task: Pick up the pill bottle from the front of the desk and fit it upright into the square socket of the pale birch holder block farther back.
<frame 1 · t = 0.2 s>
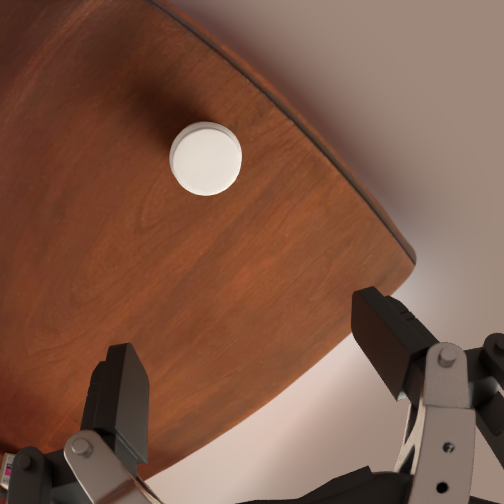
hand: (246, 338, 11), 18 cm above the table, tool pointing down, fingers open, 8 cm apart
pill bottle: (202, 148, 25), on the table
vase: (29, 492, 47), on the table
ink box: (25, 458, 39), on the table
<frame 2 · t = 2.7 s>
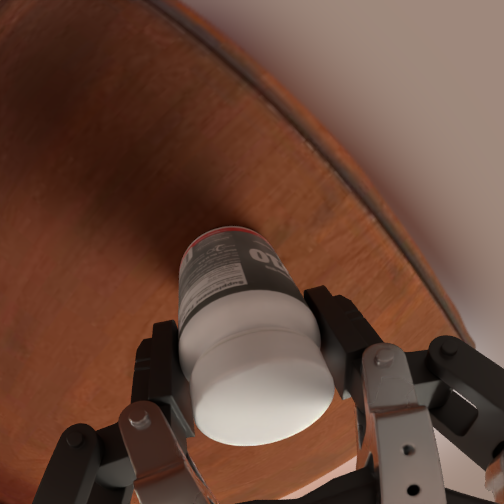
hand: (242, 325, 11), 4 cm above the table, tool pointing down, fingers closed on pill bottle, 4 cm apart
pill bottle: (227, 267, 15), on the table, touching gripper
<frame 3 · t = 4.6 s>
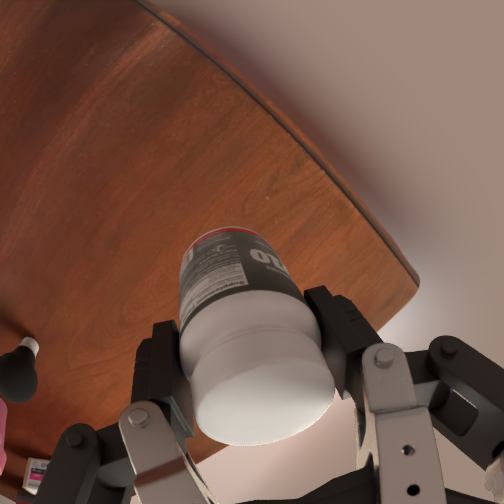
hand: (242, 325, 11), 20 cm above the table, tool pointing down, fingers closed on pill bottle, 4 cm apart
pill bottle: (228, 268, 15), point 15 cm above the table, touching gripper
vase: (46, 494, 51), on the table
light bulb: (33, 339, 32), on the table
ink box: (49, 462, 44), on the table
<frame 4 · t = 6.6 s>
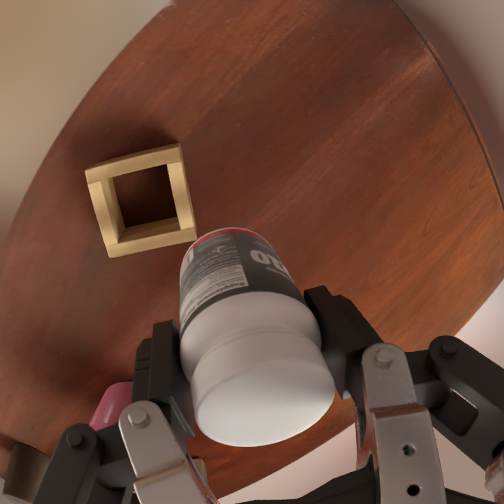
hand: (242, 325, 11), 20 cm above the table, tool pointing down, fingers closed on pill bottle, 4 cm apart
pill bottle: (228, 268, 15), point 16 cm above the table, touching gripper
flower pot: (133, 399, 40), on the table
vase: (139, 500, 57), on the table
bottle socket: (146, 193, 28), on the table
pillar candle: (32, 454, 44), on the table
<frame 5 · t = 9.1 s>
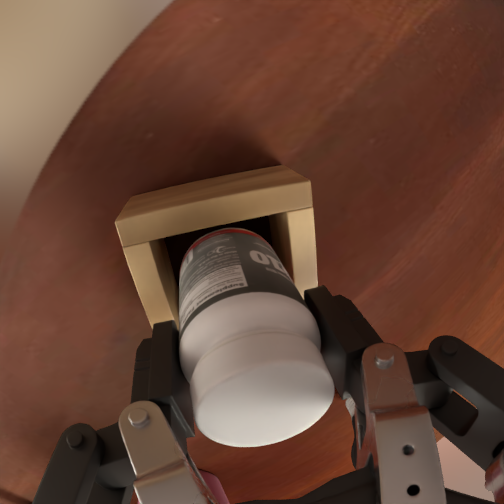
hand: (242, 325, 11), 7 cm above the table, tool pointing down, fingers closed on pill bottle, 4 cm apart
pill bottle: (228, 269, 15), point 2 cm above the table, touching gripper
flower pot: (180, 480, 29), on the table
light bulb: (353, 390, 26), on the table
bottle socket: (220, 250, 18), on the table
when the fingers open (4 cm above the table, at t = 10.7 s): pill bottle stays where it is, resting in bottle socket.
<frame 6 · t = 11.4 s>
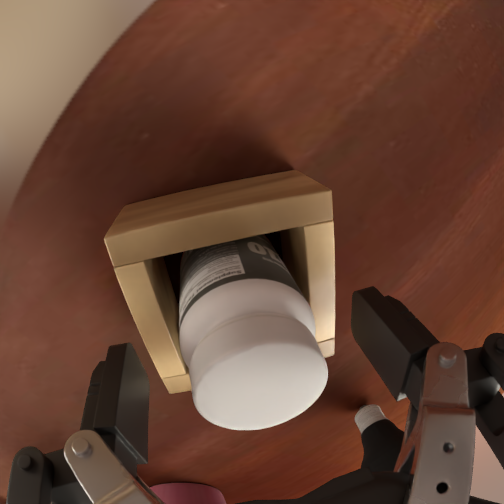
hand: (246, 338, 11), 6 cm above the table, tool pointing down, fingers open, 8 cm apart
pill bottle: (227, 261, 16), resting in bottle socket
flower pot: (182, 494, 27), on the table
light bulb: (362, 405, 24), on the table
bottle socket: (225, 264, 16), on the table
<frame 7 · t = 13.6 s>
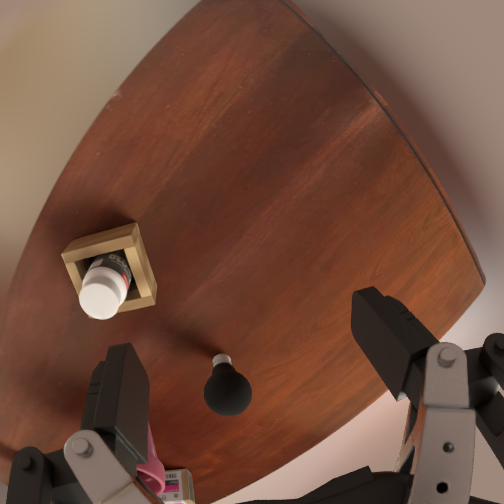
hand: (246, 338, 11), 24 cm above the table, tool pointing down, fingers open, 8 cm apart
pill bottle: (115, 262, 34), resting in bottle socket
flower pot: (123, 420, 45), on the table
light bulb: (220, 355, 42), on the table
ink box: (167, 472, 54), on the table
bottle socket: (114, 263, 34), on the table
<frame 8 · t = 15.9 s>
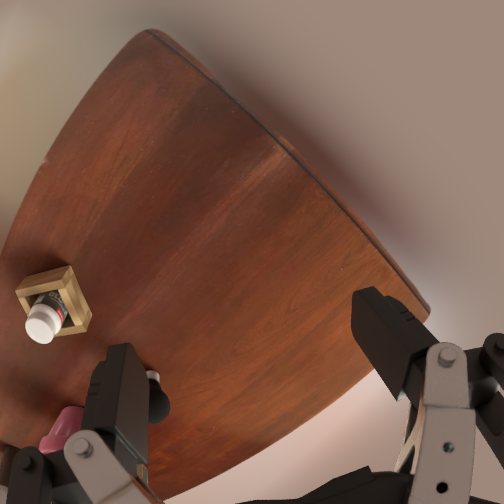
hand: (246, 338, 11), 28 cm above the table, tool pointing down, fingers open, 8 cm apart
pill bottle: (59, 294, 38), resting in bottle socket
flower pot: (81, 418, 49), on the table
light bulb: (152, 370, 47), on the table
ink box: (126, 465, 59), on the table
bottle socket: (58, 295, 38), on the table
pillar candle: (20, 454, 53), on the table
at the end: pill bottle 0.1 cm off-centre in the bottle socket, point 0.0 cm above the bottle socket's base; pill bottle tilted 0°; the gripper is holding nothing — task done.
